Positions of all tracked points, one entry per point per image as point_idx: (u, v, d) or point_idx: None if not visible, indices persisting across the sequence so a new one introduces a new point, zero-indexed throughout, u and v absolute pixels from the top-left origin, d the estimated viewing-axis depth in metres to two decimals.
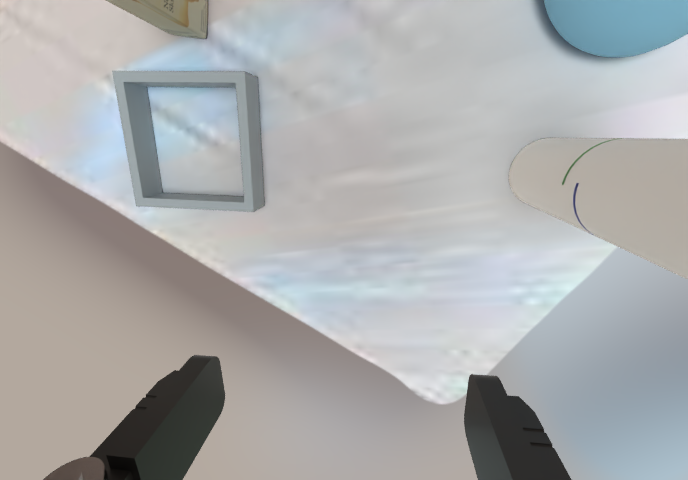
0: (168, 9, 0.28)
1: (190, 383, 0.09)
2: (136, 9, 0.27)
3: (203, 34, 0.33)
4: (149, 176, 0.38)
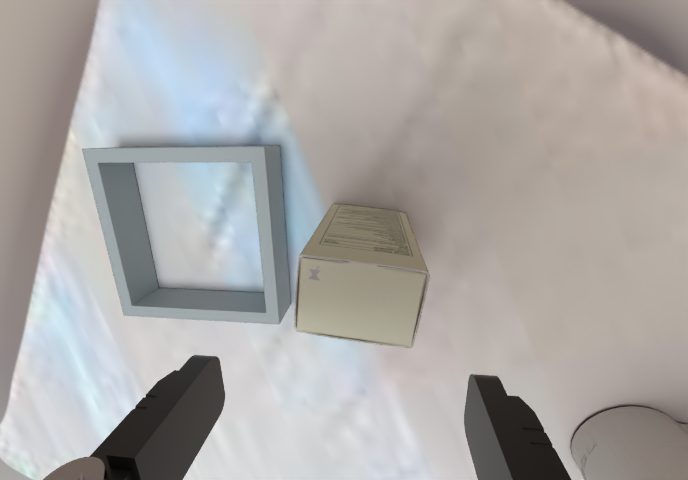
0: None
1: (190, 383, 0.09)
2: None
3: None
4: None
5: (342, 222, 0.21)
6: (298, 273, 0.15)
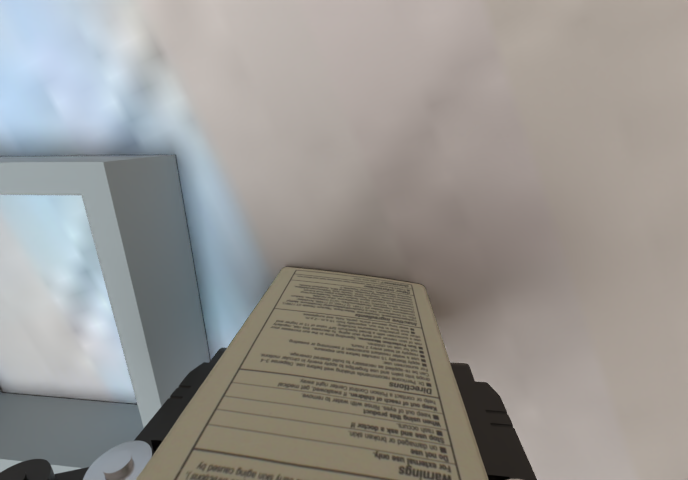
0: None
1: None
2: None
3: None
4: None
5: (277, 355, 0.08)
6: None
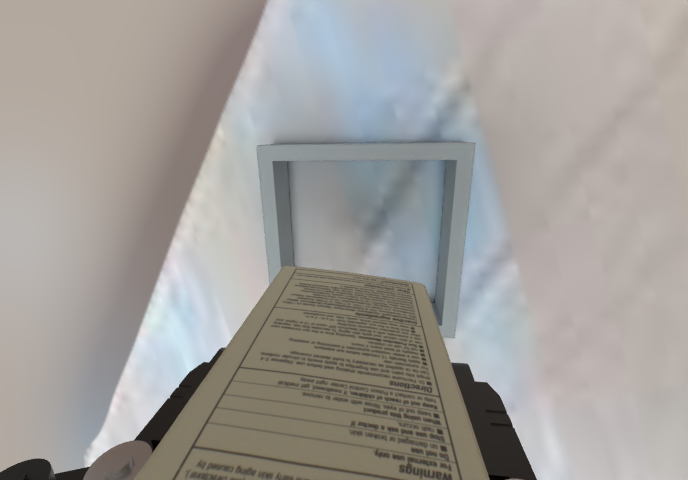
0: None
1: None
2: None
3: None
4: None
5: (277, 353, 0.08)
6: None
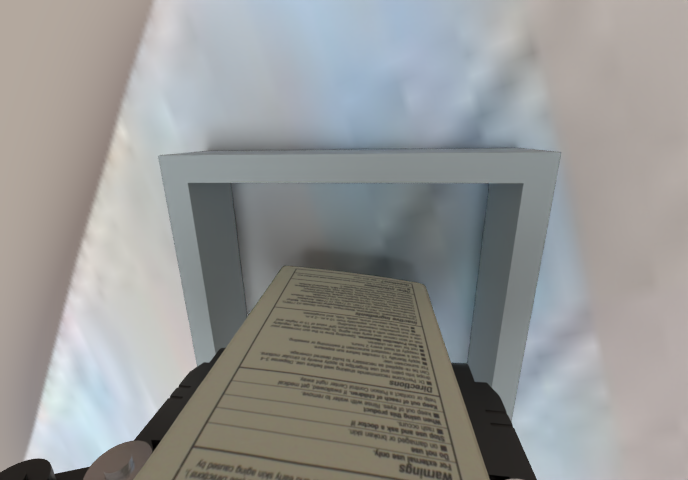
0: None
1: None
2: None
3: None
4: None
5: (277, 353, 0.08)
6: None
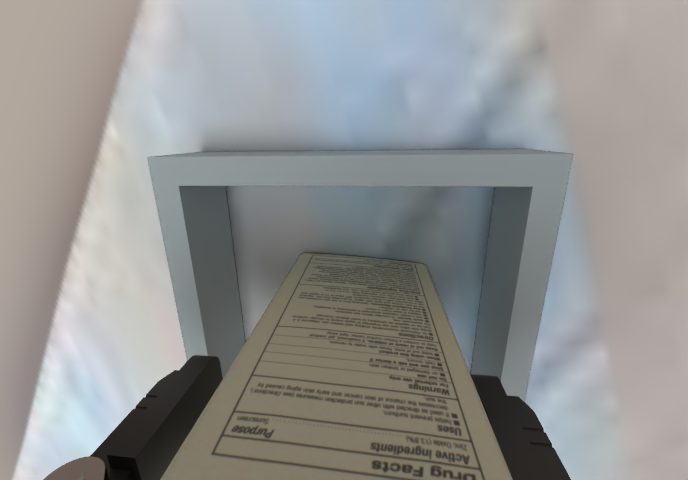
0: None
1: (190, 383, 0.09)
2: None
3: None
4: None
5: (305, 316, 0.10)
6: None
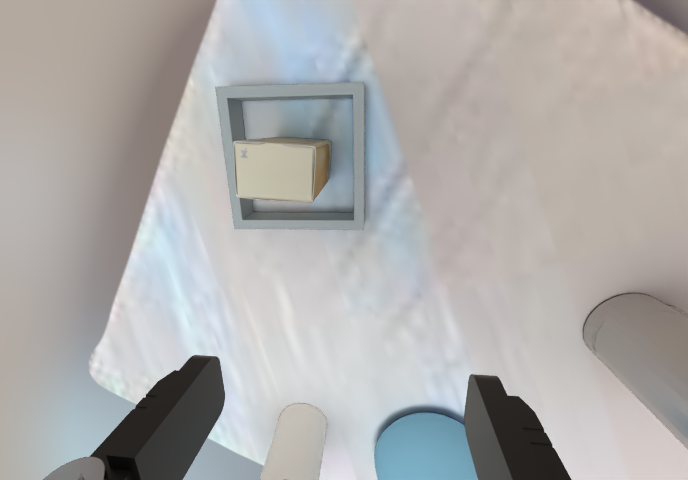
0: None
1: (190, 383, 0.09)
2: None
3: None
4: (255, 98, 0.32)
5: None
6: (234, 154, 0.24)
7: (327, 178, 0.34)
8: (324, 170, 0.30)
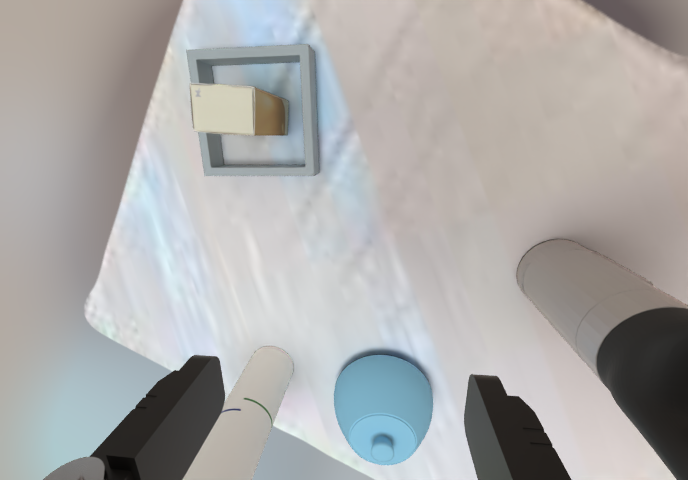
0: None
1: (190, 383, 0.09)
2: None
3: None
4: (221, 61, 0.38)
5: None
6: (190, 94, 0.29)
7: (283, 131, 0.39)
8: (275, 119, 0.35)
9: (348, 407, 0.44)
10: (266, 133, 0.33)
